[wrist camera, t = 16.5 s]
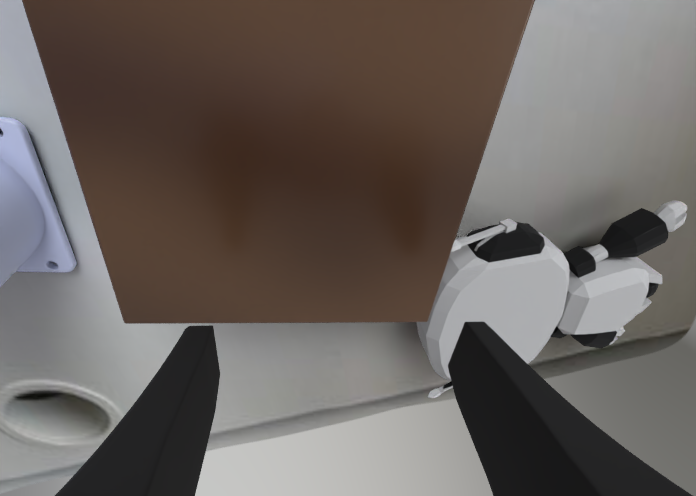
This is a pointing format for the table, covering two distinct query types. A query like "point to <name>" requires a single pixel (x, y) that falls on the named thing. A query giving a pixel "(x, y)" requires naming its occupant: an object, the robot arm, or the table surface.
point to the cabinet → (277, 147)
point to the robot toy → (545, 286)
